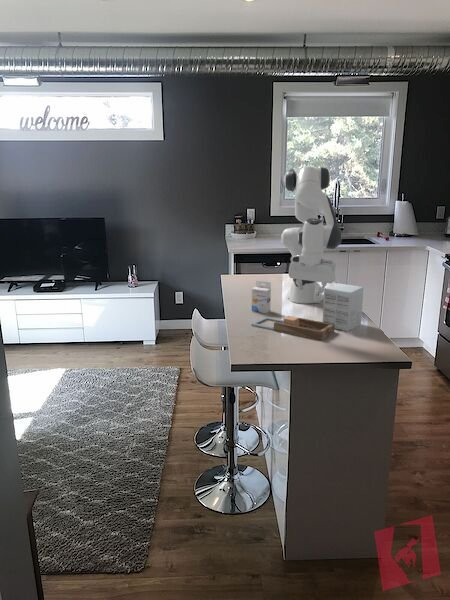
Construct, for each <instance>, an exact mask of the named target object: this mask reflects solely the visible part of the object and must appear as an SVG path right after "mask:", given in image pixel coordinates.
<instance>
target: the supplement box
mask: <svg viewBox="0 0 450 600" xmlns="http://www.w3.org/2000/svg"><path fill="white" fill-rule="evenodd" d="M323 294H324V299H323V301H322V303H323V305H322V322H325V323H330V324H335V325H334V329H337V330H343V331H347V332H349V331H351V330H352V329H355V328H356V327H358V326H359V325H361V324H362V317H363V316H362V315H363V300H364V286H360V285H351V284H344V283H339V282H337V283H334V284H331V285H329V286H327V287H326V286H325V288H324V292H323Z"/></svg>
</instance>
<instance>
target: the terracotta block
mask: <svg viewBox="0 0 450 600" xmlns="http://www.w3.org/2000/svg"><path fill="white" fill-rule="evenodd" d="M287 316H288V317H287ZM287 316H286V317H284V318H283V320H284V324H289V325H294V326H299V318H300V317H299V316H292V315H287ZM299 327H300V326H299Z"/></svg>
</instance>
